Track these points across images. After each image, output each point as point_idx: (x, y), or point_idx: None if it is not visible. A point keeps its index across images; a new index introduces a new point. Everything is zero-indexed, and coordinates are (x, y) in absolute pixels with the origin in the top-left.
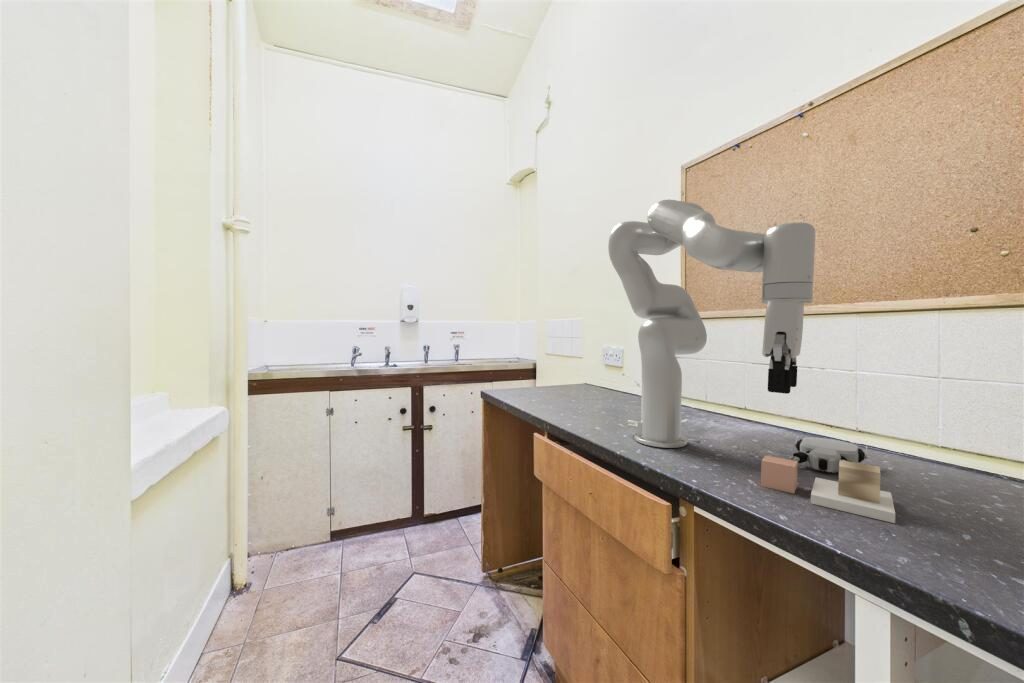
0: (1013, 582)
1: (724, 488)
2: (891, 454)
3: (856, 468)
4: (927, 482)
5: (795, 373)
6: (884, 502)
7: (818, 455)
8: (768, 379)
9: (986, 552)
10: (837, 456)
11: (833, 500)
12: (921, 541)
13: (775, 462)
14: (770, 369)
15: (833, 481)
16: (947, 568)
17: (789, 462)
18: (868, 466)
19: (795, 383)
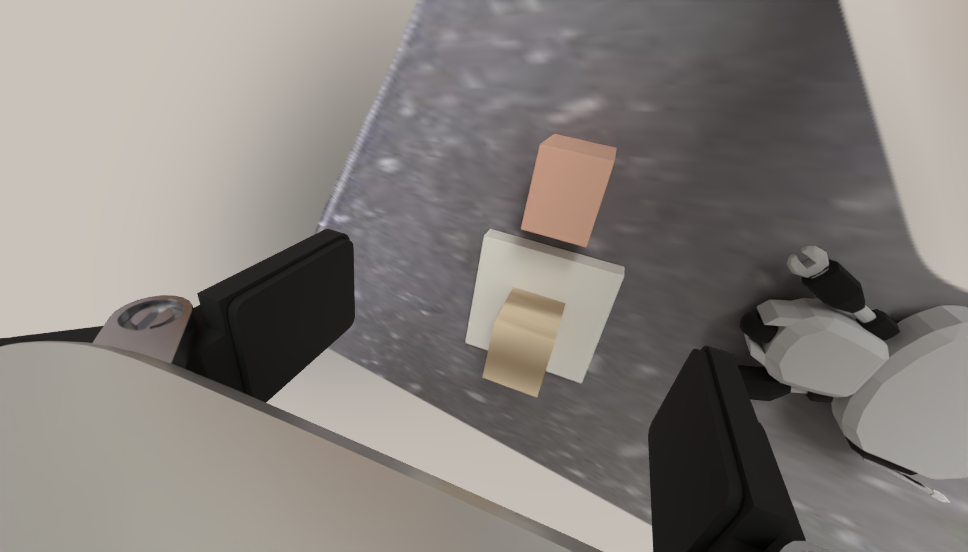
0: (371, 371)
1: (481, 33)
2: None
3: (493, 348)
4: None
5: (652, 519)
6: None
7: (789, 333)
8: (271, 257)
9: (435, 389)
10: (779, 378)
11: (478, 269)
12: (424, 337)
13: (539, 183)
14: (203, 304)
15: (607, 305)
16: (362, 328)
17: (560, 222)
18: (526, 377)
19: (650, 448)
